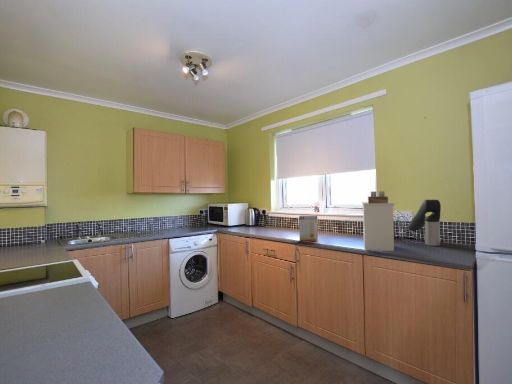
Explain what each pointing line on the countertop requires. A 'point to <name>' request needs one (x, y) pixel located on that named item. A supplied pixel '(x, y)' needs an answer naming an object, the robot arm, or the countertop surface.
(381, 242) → the cabinet
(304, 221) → the cracker box
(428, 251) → the countertop surface
